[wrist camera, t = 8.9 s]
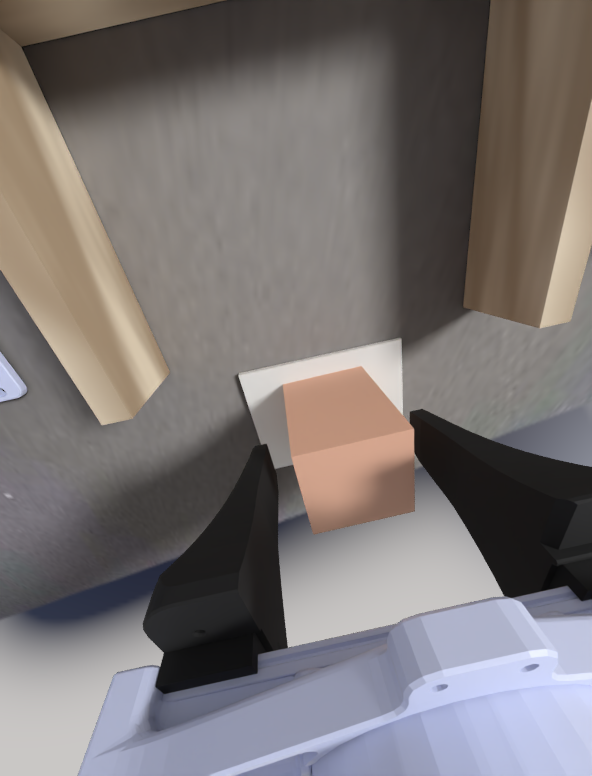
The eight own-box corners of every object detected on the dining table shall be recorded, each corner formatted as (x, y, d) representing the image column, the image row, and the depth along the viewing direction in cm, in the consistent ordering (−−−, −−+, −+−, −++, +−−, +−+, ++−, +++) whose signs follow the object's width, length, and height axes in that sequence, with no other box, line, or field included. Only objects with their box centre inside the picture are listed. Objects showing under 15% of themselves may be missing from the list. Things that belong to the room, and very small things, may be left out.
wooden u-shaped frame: (148, 377, 14) (101, 425, 10) (-43, -2, 8) (-331, -238, 4) (485, 302, 14) (570, 321, 10) (540, -134, 8) (799, -501, 4)
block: (298, 446, 17) (313, 534, 12) (282, 384, 15) (291, 457, 10) (368, 430, 17) (414, 511, 12) (361, 366, 15) (414, 428, 10)
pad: (269, 466, 18) (269, 470, 18) (238, 373, 15) (238, 375, 14) (401, 437, 18) (402, 440, 18) (399, 337, 15) (401, 339, 14)
